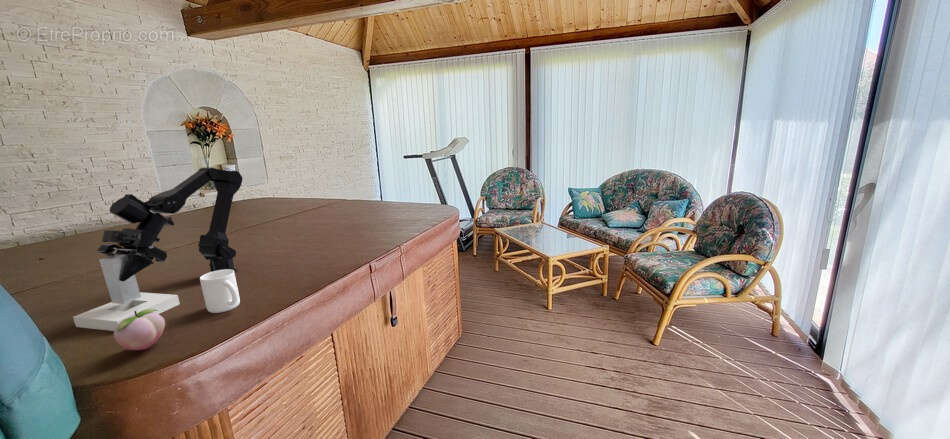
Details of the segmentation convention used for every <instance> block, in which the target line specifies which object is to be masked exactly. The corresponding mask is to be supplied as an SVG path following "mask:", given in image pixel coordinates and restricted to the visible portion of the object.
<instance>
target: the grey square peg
mask: <svg viewBox="0 0 950 439" xmlns="http://www.w3.org/2000/svg"><path fill="white" fill-rule="evenodd" d="M128 262H129V259H128V255H125V254H116V255H113V256H109V257H108V256H106V257H103V258H99V263H100V267H101V271H102V273H103V277H104V280H105V283H106V287H107V290H108V292H109V296H110V300H111V302H112V303H118V304H125V303H128V302H130V301H133V300H135V299H138V298H140V297H141V295H140V288H139V284H138V281H137V277H136V274H135V275H133V276H132V277H130V278H129V279H127V280H126V281H120V277H121V275H122V273H123V271H124V269H125V267H126V266H127V264H128Z"/></svg>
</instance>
